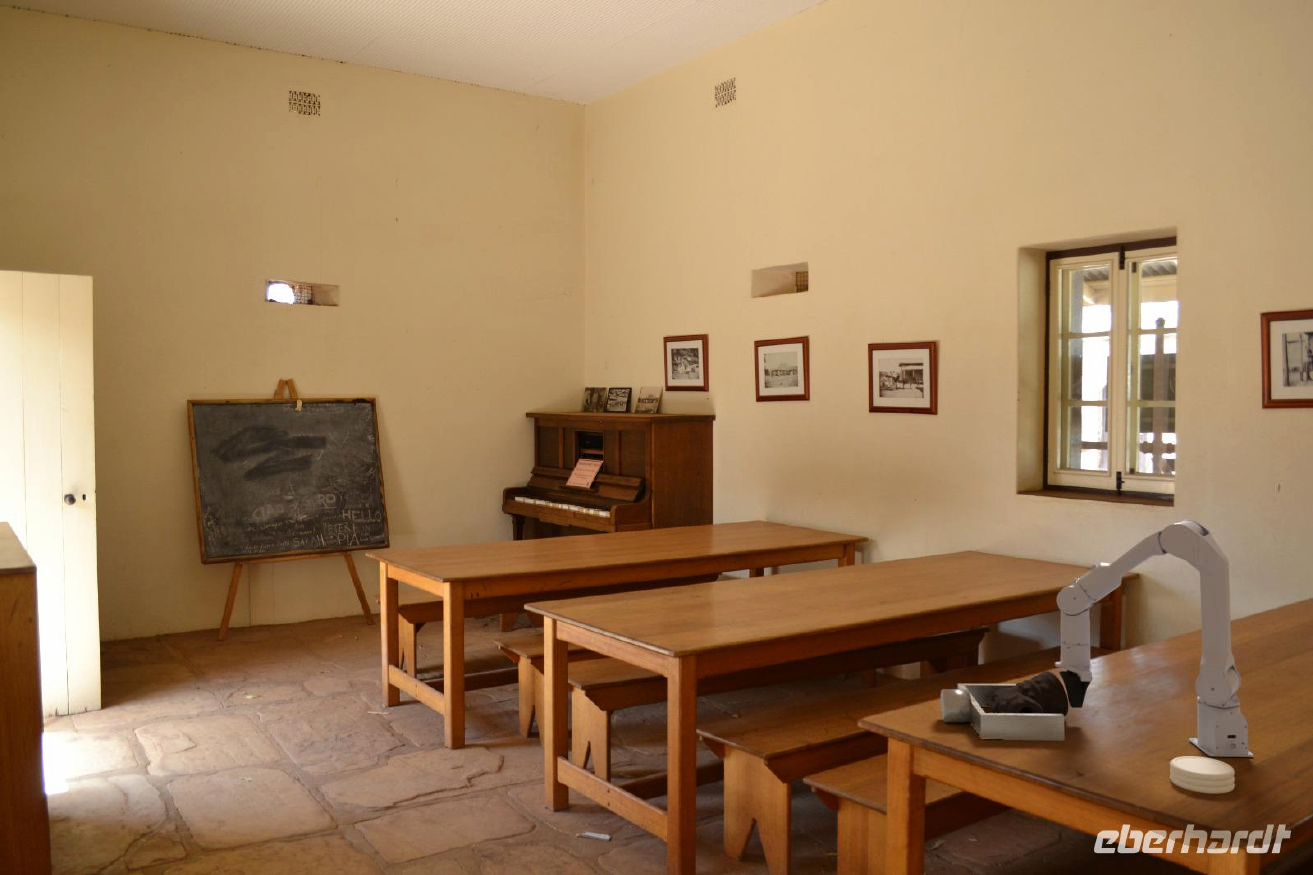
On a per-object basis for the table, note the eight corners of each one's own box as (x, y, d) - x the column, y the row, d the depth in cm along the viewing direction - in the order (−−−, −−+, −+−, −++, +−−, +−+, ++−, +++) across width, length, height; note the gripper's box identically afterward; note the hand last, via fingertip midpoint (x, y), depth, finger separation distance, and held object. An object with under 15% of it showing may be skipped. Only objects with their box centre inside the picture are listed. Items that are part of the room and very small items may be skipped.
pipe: (1004, 696, 207) (1073, 680, 208) (975, 681, 222) (1039, 666, 223) (1014, 743, 207) (1083, 726, 208) (984, 725, 222) (1048, 710, 223)
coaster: (1207, 772, 183) (1207, 753, 183) (1248, 792, 173) (1248, 772, 173) (1157, 776, 181) (1157, 757, 181) (1195, 797, 172) (1195, 776, 171)
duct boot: (1064, 740, 201) (1064, 706, 201) (954, 739, 203) (953, 705, 203) (1032, 706, 224) (1032, 676, 224) (934, 705, 226) (933, 675, 226)
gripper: (1045, 634, 219) (1046, 696, 220) (1066, 650, 205) (1066, 717, 205) (1079, 634, 219) (1080, 697, 219) (1102, 650, 204) (1102, 717, 205)
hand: (1076, 706), depth 212 cm, fingers closed
